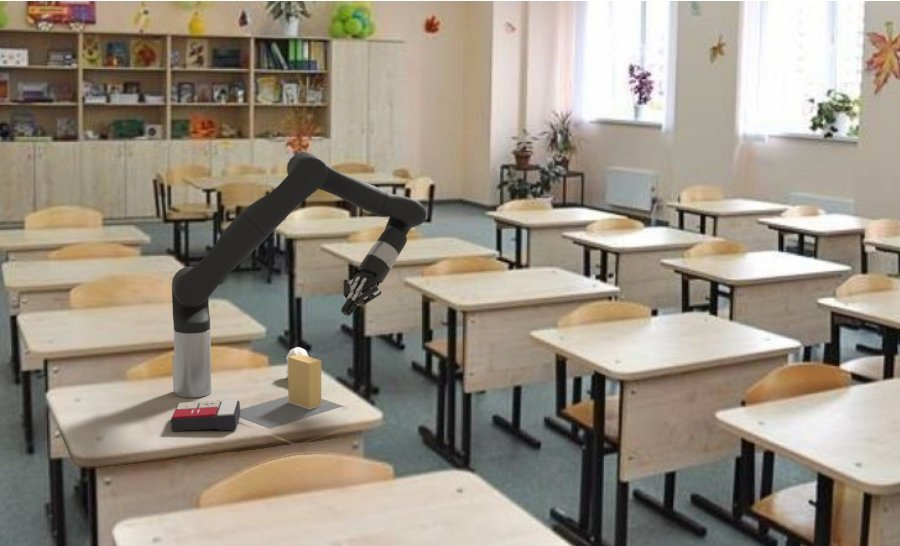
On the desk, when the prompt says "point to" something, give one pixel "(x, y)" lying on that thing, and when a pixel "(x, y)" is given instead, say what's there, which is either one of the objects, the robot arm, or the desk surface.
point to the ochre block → (304, 381)
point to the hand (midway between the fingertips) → (345, 313)
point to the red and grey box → (206, 415)
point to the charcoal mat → (282, 412)
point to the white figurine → (296, 352)
